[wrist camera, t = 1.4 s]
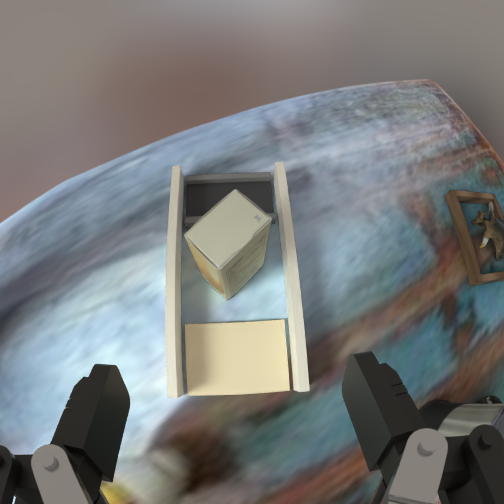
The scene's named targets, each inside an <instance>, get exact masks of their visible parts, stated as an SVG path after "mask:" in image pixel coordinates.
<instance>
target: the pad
mask: <svg viewBox="0 0 504 504" xmlns="http://www.w3.org/2000/svg"><path fill="white" fill-rule="evenodd" d="M185 347H186V373H187V392H188V395H233V394H253V393H267V392H279V391H289V390H290V388H289V374H288V360H287V348H286V335H285V323H284V320H271V321H254V322H235V323H209V324H185Z"/></svg>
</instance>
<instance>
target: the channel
mask: <svg viewBox="0 0 504 504" xmlns="http://www.w3.org/2000/svg"><path fill="white" fill-rule="evenodd" d="M273 180H274V188H275V197H276V205H277V214H278V223H279V232H280V241H281V251H282V261H283V271H284V281H285V291H286V302H287V313H288V325H289V336H290V348H291V361H292V374H293V388H294V390H296V391H298V392H304V391H309V378H308V365H307V353H306V341H305V330H304V320H303V310H302V300H301V291H300V281H299V272H298V264H297V255H296V247H295V239H294V231H293V223H292V216H291V209H290V201H289V194H288V187H287V180H286V173H285V167H284V162H276V164H275V170H274V176H273ZM183 197H184V178H183V174H182V170H181V166H173V168H172V179H171V190H170V203H169V218H168V235H167V257H166V296H165V332H166V371H167V392H168V398H178V397H181V396H183V395H184V389H183V369H182V340H181V247H182V218H183Z"/></svg>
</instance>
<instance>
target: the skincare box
mask: <svg viewBox="0 0 504 504" xmlns="http://www.w3.org/2000/svg"><path fill="white" fill-rule="evenodd" d="M271 221H272V218H271V217H270V216H268V215H267V214H266V213H265V212H264V211H263V210H261V209H260V208H259V207H258V206H257V205H256V204H254V203H253V202H252V201H251V200H250V199H248V198H247V197H246V196H245V195H243V194H242V193H240V192H239V191H238V190H233V191H232V192H231V193H229V194H228V195H227V196H226V197H224V198H223V199H222V200H221V201H220V202H218V203H217V204H216V205H215V206H214V207H213V208H212V209H211V210H209V211H208V212H207V213H206V214H205V215H204V216H203V217H202V218H201V219H200V220H199V221H198V222H196V223H195V224H194V225H193V226H192V227H191V228H190V229H189V230H188V231H187V232H186V233H185V234H184V236H185V239H186V241H187V243H188V245H189V248H190V250H191V252H192V255H193V257H194V259H195V261H196V263H197V266H198V268H199V270H200V272H201V274H202V276H203V278H204V279H205V280H206V281H207V282H208V283H209V284H210V285H211V286H212V287H213V288H214V289H215V290H216V291H217V292H218V293H219V294H220V295H221V296H222V297H223V298H224V299H225V300H229V299H230V298H231V297H232V296H234V295H235V294H236V293H237V292H238V291H239V290H240V289H241V288H242V287H243V286H244V285H245V284H246V283H247V282H248V281H249V280H250V279H251V278H252V277H253V275H254V274H255V273H256V272H257V271H258V270H259V269H260V268H261V267H262V266H263V263H264V258H265V252H266V247H267V242H268V237H269V231H270V226H271Z"/></svg>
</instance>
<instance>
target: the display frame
mask: <svg viewBox="0 0 504 504" xmlns="http://www.w3.org/2000/svg"><path fill="white" fill-rule="evenodd" d="M445 199H446V202H447V205H448V208H449V211H450V214H451V217H452V220H453V223H454V226H455V229H456V233H457V236H458V240H459V243H460V247H461V250H462V254H463V258H464V262H465V266H466V270H467V275H468V279H469V284H470V286H473V285H479V284H485V283H491V282H497V281H502V280H504V271H503V272H496V273H490V274H483V275H481V273H480V269H479V265H478V261H477V257H476V253H475V250H474V246H473V243H472V239H471V236H470V233H469V229H468V226H467V223H466V220H465V217H464V214H463V211H462V208H461V205H460V202H462V203H477V204H487V205H488V207H489V204H490V202H492V204H493V207H494V210H493V214H494V217H495V218H499V219H503V220H504V218H503V215H502V212H501V209H500V207H499V204H498V201H497V199H496V196H495V194H488V193H479V192H469V191H458V190H450V191H449V192H448V193H447V194H446V195H445Z"/></svg>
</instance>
